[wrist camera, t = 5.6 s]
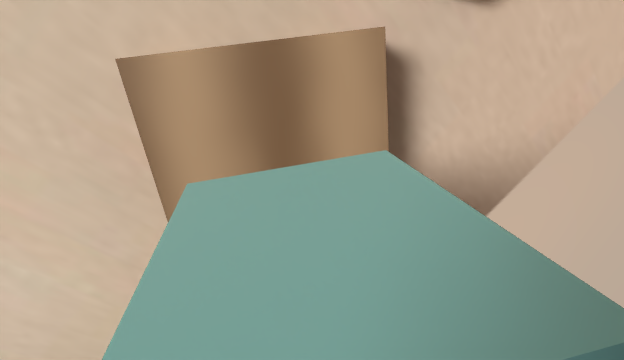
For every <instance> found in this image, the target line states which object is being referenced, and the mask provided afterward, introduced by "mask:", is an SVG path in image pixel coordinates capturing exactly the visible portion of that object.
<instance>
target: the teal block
mask: <svg viewBox="0 0 624 360" xmlns="http://www.w3.org/2000/svg"><path fill="white" fill-rule="evenodd" d="M102 360H624V308H622V307H621V306H620V305H618V304H617V303H615V302H614V301H612V300H610V299H609V298H607V297H606V296H605V295H603V294H602V293H600V292H599V291H597V290H595V289H594V288H592V287H591V286H590V285H588V284H587V283H585V282H583V281H582V280H580V279H579V278H577V277H576V276H574V275H573V274H571V273H570V272H568V271H567V270H565V269H564V268H562V267H561V266H559V265H558V264H556V263H555V262H553V261H552V260H550V259H549V258H547V257H546V256H544V255H543V254H541V253H540V252H538V251H537V250H535V249H534V248H532V247H531V246H529V245H528V244H526V243H525V242H523V241H522V240H520V239H519V238H517V237H516V236H514V235H513V234H511V233H510V232H508V231H507V230H505V229H504V228H502V227H501V226H499V225H498V224H496V223H495V222H493V221H492V220H490V219H489V218H487V217H486V216H484V215H483V214H481V213H480V212H478V211H477V210H475V209H474V208H472V207H471V206H469V205H468V204H466V203H465V202H463V201H462V200H460V199H459V198H457V197H456V196H454V195H453V194H451V193H450V192H448V191H447V190H445V189H444V188H442V187H441V186H439V185H438V184H436V183H435V182H433V181H432V180H430V179H429V178H427V177H426V176H424V175H423V174H421V173H420V172H418V171H417V170H415V169H414V168H412V167H411V166H409V165H408V164H406V163H405V162H403V161H402V160H400V159H399V158H397V157H396V156H394V155H393V154H391V153H390V152H388V151H387V150H384V151H378V152H372V153H366V154H360V155H354V156H348V157H342V158H337V159H331V160H325V161H319V162H313V163H307V164H301V165H295V166H289V167H283V168H277V169H272V170H266V171H260V172H254V173H248V174H242V175H236V176H230V177H224V178H218V179H212V180H207V181H201V182H195V183H189V184H187V185H186V187H185V189H184V191H183V193H182V195H181V197H180V199H179V202H178V204H177V206H176V208H175V210H174V212H173V214H172V216H171V218H170V220H169V222H168V224H167V226H166V228H165V230H164V233H163V235H162V237H161V239H160V241H159V243H158V245H157V247H156V249H155V251H154V253H153V255H152V257H151V259H150V261H149V264H148V266H147V268H146V270H145V272H144V274H143V276H142V278H141V280H140V282H139V284H138V286H137V288H136V290H135V292H134V295H133V297H132V299H131V301H130V303H129V305H128V307H127V309H126V311H125V313H124V315H123V317H122V319H121V321H120V323H119V325H118V328H117V330H116V332H115V334H114V336H113V338H112V340H111V342H110V344H109V346H108V348H107V350H106V352H105V354H104V356H103V359H102Z"/></svg>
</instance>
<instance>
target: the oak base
mask: <svg viewBox="0 0 624 360" xmlns="http://www.w3.org/2000/svg"><path fill="white" fill-rule="evenodd" d="M115 60H116V63H117V66H118V69H119V72H120V75H121V78H122V81H123V85H124V88H125V91H126V94H127V97H128V100H129V103H130V106H131V109H132V112H133V115H134V119H135V122H136V125H137V128H138V131H139V134H140V137H141V140H142V143H143V146H144V149H145V153H146V156H147V159H148V162H149V165H150V168H151V171H152V174H153V177H154V180H155V183H156V187H157V190H158V193H159V196H160V199H161V202H162V205H163V208H164V211H165V214H166V218H167V221H168V222H169V220H170V218H171V216H172V214H173V212H174V210H175V208H176V206H177V204H178V202H179V199H180V197H181V195H182V193H183V191H184V189H185V187H186V185H187V184H189V183H195V182H201V181H207V180H212V179H218V178H224V177H230V176H236V175H242V174H248V173H254V172H260V171H266V170H272V169H277V168H283V167H289V166H295V165H301V164H307V163H313V162H319V161H325V160H331V159H337V158H342V157H348V156H354V155H360V154H366V153H372V152H378V151H384V150H387V151H388V152H389V143H388V109H387V76H386V42H385V27H378V28H370V29H362V30H353V31H345V32H337V33H328V34H320V35H312V36H303V37H295V38H287V39H278V40H270V41H262V42H253V43H245V44H237V45H228V46H220V47H212V48H203V49H195V50H187V51H178V52H170V53H162V54H153V55H145V56H137V57H128V58H120V59H115Z"/></svg>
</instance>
